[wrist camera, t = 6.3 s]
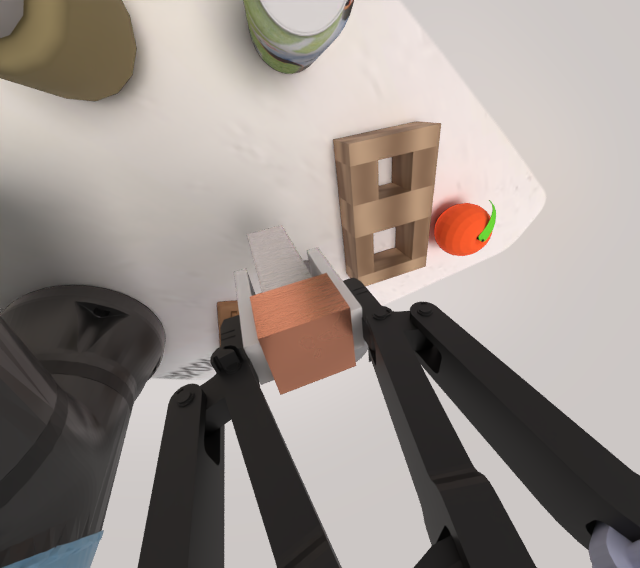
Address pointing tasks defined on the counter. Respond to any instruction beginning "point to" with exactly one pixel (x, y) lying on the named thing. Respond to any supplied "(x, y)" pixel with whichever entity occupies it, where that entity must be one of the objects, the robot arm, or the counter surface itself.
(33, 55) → the squeeze bottle
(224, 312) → the wooden figurine
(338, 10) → the beverage can
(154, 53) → the counter surface
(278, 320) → the pin
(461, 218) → the clementine
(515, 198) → the counter surface
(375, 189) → the mount block
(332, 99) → the counter surface
